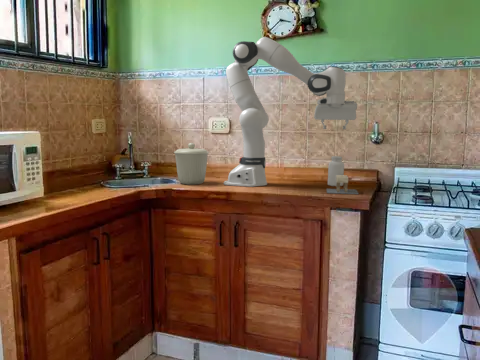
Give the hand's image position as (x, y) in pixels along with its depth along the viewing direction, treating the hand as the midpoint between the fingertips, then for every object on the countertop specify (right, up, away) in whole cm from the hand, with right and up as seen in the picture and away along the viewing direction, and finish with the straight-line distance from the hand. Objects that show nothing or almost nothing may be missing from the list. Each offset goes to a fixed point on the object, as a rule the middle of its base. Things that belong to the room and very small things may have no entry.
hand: (334, 129), depth 226 cm
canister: (-72, -27, +13) cm, 78 cm away
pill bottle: (+3, -28, +12) cm, 31 cm away
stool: (+1, -30, -10) cm, 32 cm away
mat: (+2, -31, -10) cm, 32 cm away
